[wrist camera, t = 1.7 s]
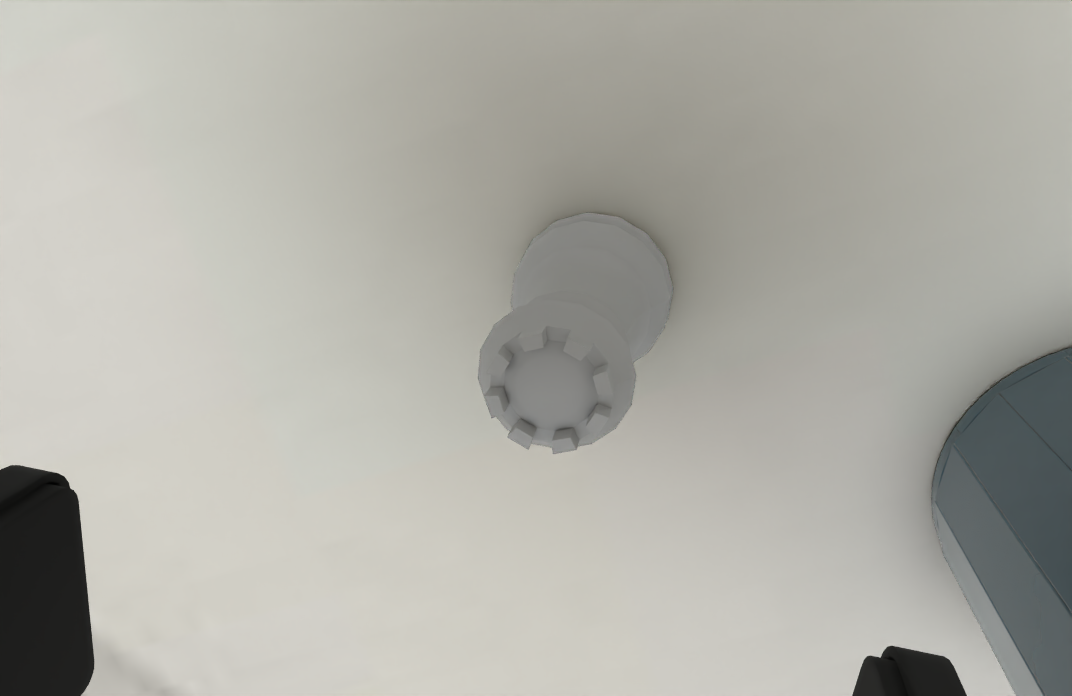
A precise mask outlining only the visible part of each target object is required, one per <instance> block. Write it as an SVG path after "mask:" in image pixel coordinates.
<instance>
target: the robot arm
mask: <svg viewBox="0 0 1072 696" xmlns="http://www.w3.org/2000/svg"><path fill="white" fill-rule="evenodd" d="M93 670H94V654H93V644H92V633H91V623H90V613H89V603H88V593H87V583H86V572H85V562H84V552H83V542H82V532H81V522H80V511H79V501H78V497H77V494H76V493H75V492H74V490H72V489H70V486H69V482H68V481H67V480H66V478H65V477H64V476H62V475H60V474H58V473H54V472H49V471H44V470H39V469H34V468H29V467H25V466H20V465H11V466H8V467H6V468H3V469H1V470H0V696H81V694H82V693H83V692H84V691H85V689H86V688H87V686H88V684H89V682H90V680H91V677H92V674H93ZM852 696H967V695H966V693H965V691H964V688H963V686H962V684H961V682H960V680H959V677H958V675H957V673H956V671H955V669H954V666H953V665H952V663H951V662H950V660H949V659H947V658H946V657H943V656H939V655H934V654H929V653H924V652H919V651H914V650H910V649H905V648H900V647H895V646H889V647H887V648H886V649H885V651H884V652H883V654H882V656H881V658H879V657H874V656H867V657H866V658H865V660H864V662H863V664H862V667H861V670H860V673H859V676H858V679H857V683H856V686H855V689H854V692H853V695H852Z"/></svg>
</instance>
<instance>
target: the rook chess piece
mask: <svg viewBox="0 0 1072 696" xmlns="http://www.w3.org/2000/svg"><path fill="white" fill-rule="evenodd" d="M672 293H673V286H672V282H671V277H670V273H669V269H668V265H667V261H666V258H665V257H664V255H663V254H662V253H661V251H660V250H659V249H658V247H657V246H656V245H655V243H654V242H653V241H652V239H651V238H650V237H649V235H648V234H647V233H646V232H644V231H642V230H640V229H639V228H637V227H635V226H634V225H632V224H630V223H629V222H627V221H625V220H623V219H622V218H620V217H616V216H609V215H602V214H595V213H588V212H587V213H583V214H579V215H576V216H572V217H568V218H564V219H560V220H557V221H555V222H554V223H553V224H551V225H550V226H549V227H548V228H546V229H545V230H544V231H542V232H541V233H540V234H539V235H537V236H536V237H535V238H533V239H532V241H531V243H530V245H529V246H528V248H527V250H526V252H525V254H524V255H523V257H522V259H521V261H520V263H519V264H518V267H517V269H516V271H515V273H514V278H513V288H512V298H511V305H512V309H513V311H512V312H510V313H509V314H508V315H506V316H505V317H504V318H502V319H501V320H500V321H498V322H497V323H496V324H494V326H493V328H492V330H491V331H490V333H489V335H488V337H487V339H486V340H485V342H484V344H483V346H482V348H481V349H480V360H479V372H478V380H479V383H480V386H481V389H482V392H483V395H484V398H485V401H486V404H487V406H488V409H489V412H490V415H491V418H494V417H497V419H498V420H499V421H500V422H501V423H502V425H503V426H504V427H505V428H506V429H507V430H509V431H510V433H509V435H508V438H509V439H511V440H513V441H514V442H516V443H518V444H520V445H521V446H523V447H525V448H526V449H528V450H529V447H530V445H531V444H534V445H540V446H545V447H551V448H552V450H553V454H557V453H562V452H568V451H573V450H577V447H578V446H584V445H589V444H592V443H594V442H595V441H597V440H598V439H600V438H601V437H603V436H605V435H606V434H608V433H609V432H611V431H612V430H614V429H616V427H617V426H618V424H619V423H620V421H621V420H622V418H623V417H624V415H625V414H626V412H627V411H628V409H629V408H630V406H631V405H632V399H633V393H634V387H635V381H636V372H635V369H634V365H633V362H635V361H636V360H638V359H639V358H641V357H642V356H644V355H645V354H647V353H648V352H649V350H650V349H651V347H652V346H653V344H654V343H655V341H656V340H657V338H658V337H659V335H660V334H661V332H662V331H663V329H664V328H665V323H666V321H667V320H668V316H669V310H670V305H671V299H672Z"/></svg>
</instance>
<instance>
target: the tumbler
mask: <svg viewBox="0 0 1072 696" xmlns="http://www.w3.org/2000/svg"><path fill="white" fill-rule="evenodd" d="M931 500H932V513H933V520H934V524H935V528H936V532H937V535H938V538H939V540H940V542H941V546H942V552H943V554H944V557H945V559H946V561H947V563H948V565H949V567H950V569H951V571H952V573H953V574H954V576H955V578H956V580H957V582H958V584H959V586H960V588H961V590H962V592H963V594H964V596H965V598H966V600H967V602H968V604H969V605H970V607H971V609H972V611H973V613H974V615H975V617H976V619H977V621H978V623H979V625H980V627H981V629H982V631H983V633H984V634H985V636H986V638H987V640H988V642H989V644H990V646H991V648H992V650H993V652H994V654H995V656H996V658H997V660H998V662H999V664H1000V665H1001V667H1002V669H1003V671H1004V673H1005V675H1006V677H1007V679H1008V681H1009V683H1010V685H1011V687H1012V689H1013V691H1014V693H1015V695H1016V696H1072V347H1071V348H1068V349H1065V350H1062V351H1059V352H1056V353H1053V354H1051V355H1048V356H1045V357H1043V358H1041V359H1039V360H1037V361H1034V362H1032V363H1030V364H1028V365H1026V366H1024V367H1022V368H1020V369H1019V370H1017V371H1016V372H1014V373H1012V374H1011V375H1009V376H1007V377H1006V378H1004V379H1003V380H1001V381H1000V382H999V383H997V384H996V385H995V386H994V387H992V388H991V389H990V390H989V391H987V392H986V393H985V394H984V395H983V396H982V397H981V398H980V399H979V400H978V401H977V402H976V403H975V404H974V405H973V406H972V407H971V408H970V409H969V410H968V411H967V412H966V413H965V415H964V416H963V417H962V418H961V420H960V421H959V422H958V424H957V425H956V426H955V428H954V430H953V431H952V433H951V435H950V436H949V438H948V440H947V442H946V443H945V445H944V448H943V450H942V453H941V455H940V458H939V460H938V462H937V466H936V471H935V475H934V479H933V486H932V498H931Z"/></svg>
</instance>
